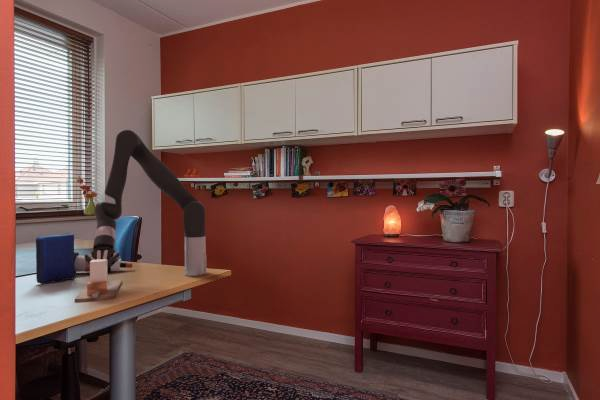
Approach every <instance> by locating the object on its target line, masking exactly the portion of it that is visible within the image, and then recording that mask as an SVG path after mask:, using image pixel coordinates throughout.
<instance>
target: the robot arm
mask: <svg viewBox="0 0 600 400" xmlns="http://www.w3.org/2000/svg"><path fill="white" fill-rule="evenodd" d="M131 157H132V158H133V159H134V160H135V162H137V163H138V164H139V166H140V167H141V169H142V170H143V172H144V173H145V174H146V177H148V178H149V179H150V181H152V183H153V184H154V185H155V186H156V187H157V188H158V189H159V190H160V191H162V192H163V193H164V194H165V195H166V196H168V197H169V198H170V199H172V200H173V201H174V202H175V203H176V204H177V205H178V206H179V208H181V210H182V211H183V233H184V275H185V276H188V277H195V276H196V277H199V276H204V275H207V253H206V252H207V249H206V247H207V246H206V239H207V238H206V234H207V233H206V210H207V209H206V207H205V206H204V204H203V203H202V202H201V201H199V199H197V198H196V197H195V196H194V195H192V193H191V192H190V191H188V190H187V188H186V187H185V186H184V184H183V183H182V182H181V181H180V179H179V178H178V177H177V176H176V175H175V173H173V171H172V170H171V169H170V168H169V167H168V166H167V165H166V164H165V163H164V162H163V161H162V160H160V158H158V157H157V156H156V155H154V154H153V153H152V152H151V151H150V150H149V148H148V147H147V145H145V143H144V142H143V141H142V139H141V138H140V136H139V135H138V134H137V133H136V132H134V130H130V129H122V130H121V131H119V132H118V133H117V135H116V136H115V145H114V153H113V159H112V165H111V169H110V172H109V176H108V179H107V182H106V186H105V189H104V195H106V196H107V197H110V198H112V199H113V200H114V202H112V201H111V202H109V201H105V200H100V201H98V202H97V203H96V204H95V206H94V215H95V218H96V223H97V225H96V232H95V235H94V239H93V248H92V250H91V252H90V254H85V255H83V256H84V257H85V260H86V261H87V262H88V263H89V265H90V261H92V257H93V258H94V259H95V260H98V259H107V267H109V268H110V267H111V266H113V265H114V264H115V263H116V262H117V261H118V260H119V259H121V253H119V252H118V253H117V252H116V250H115V245H116V243H115V242H116V229H117V228H116V226H117V222H116V220H119V218H120V217H121V216H122V214H123V207H122V206H123V205H122V203H123V202H122V200H123V193H124V190H125V186H126V183H127V177H128V169H129V168H128V167H129V163H130V159H131ZM111 258H112V259H111ZM108 260H109V261H108ZM203 274H204V275H203ZM198 275H199V276H198Z"/></svg>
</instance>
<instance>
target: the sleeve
mask: <svg viewBox="0 0 600 400" xmlns="http://www.w3.org/2000/svg"><path fill="white" fill-rule="evenodd" d="M101 281H107V286H108V281H109V279H108V271H107V259H98V260H92V261H90V272H89V282H101Z"/></svg>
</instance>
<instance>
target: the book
mask: <svg viewBox="0 0 600 400" xmlns="http://www.w3.org/2000/svg"><path fill="white" fill-rule="evenodd" d="M74 252H75V235H74V233H70V232H68V233H62V234H58V235H57V234H56V235H43V236H42V235H41V236H38V237H36V239H35V259H36V262H35V263H36V264H35V265H36V269H35V270H36V272H35V273H36V282H37V283H38V284H41V285H43V284H49V283H55V282H60V281H61V282H62V281H67V280H72V279H74V278H76V274H77V272H76V273H75V266H74Z"/></svg>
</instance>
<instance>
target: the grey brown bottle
mask: <svg viewBox="0 0 600 400" xmlns="http://www.w3.org/2000/svg"><path fill="white" fill-rule="evenodd" d="M84 256H85V255H80V254H79V252H77V251H76V252H75V251H74V266H75V273H76V274H77V272H78V273H80V272H81V273H82V272H85V273H88V272H89V273H90V265H89V263H88V262H87V261H86V260H85V257H84ZM112 258H113V257H112ZM112 258H111V259H112ZM92 260H95V259H94V258H93V257H92ZM108 261H109V260H108ZM124 268H127V269H128V268H129V269H132V268H133V263H132V262H129V263H128V262H122V259H121V258H120V259H119V260H118V261H117V262H116V263H115V264H114V265H113V266H111V267H110V268H109V267H107V272H109V273H110V272H120V271H121V269H124Z"/></svg>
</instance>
